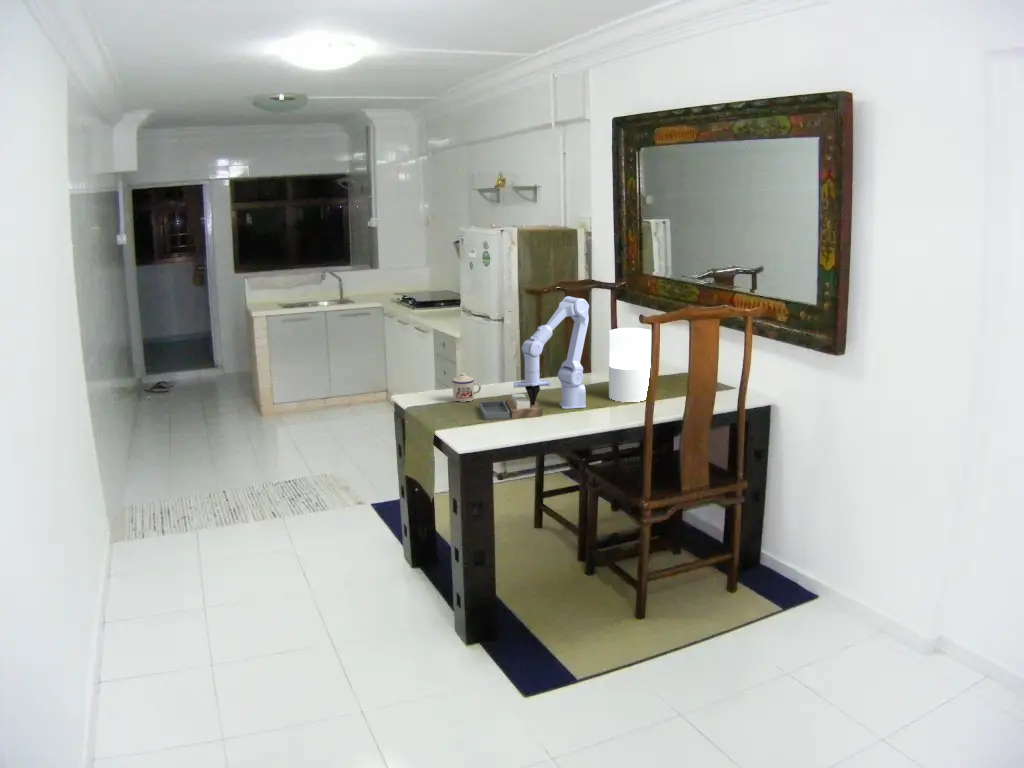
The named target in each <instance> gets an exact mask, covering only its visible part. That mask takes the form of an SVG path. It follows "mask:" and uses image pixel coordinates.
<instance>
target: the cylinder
mask: <svg viewBox="0 0 1024 768" xmlns="http://www.w3.org/2000/svg"><path fill="white" fill-rule="evenodd" d="M608 335H609V337H608V343H609V344H608V398H610V399H609V400H611V399H612V401H613V400H615V401H614V402H617V401H621V402H620V403H624V402H638V403H641V402H640V401H644V400H646V397H647V391H648V386H649V378H650V368H651V369H652V365H651V364H652V362H651V361H652V357H651V355H652V330H651V329H648V328H641V327H619V328H614V329H610V330H609V333H608ZM644 402H645V401H644Z"/></svg>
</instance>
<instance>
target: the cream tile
mask: <svg viewBox="0 0 1024 768" xmlns="http://www.w3.org/2000/svg"><path fill="white" fill-rule="evenodd" d="M515 406H516V408H517V409H527V408H530V402H529V400H528V399H518V400H515Z"/></svg>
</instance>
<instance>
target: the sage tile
mask: <svg viewBox="0 0 1024 768" xmlns="http://www.w3.org/2000/svg"><path fill="white" fill-rule="evenodd" d="M526 398H527V396H526V395H525V393H514V394H511V399H512V401H513V403H514V404H515V400H518V399H526Z"/></svg>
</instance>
